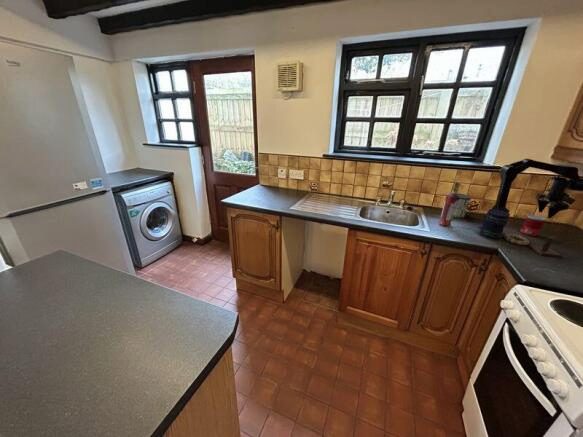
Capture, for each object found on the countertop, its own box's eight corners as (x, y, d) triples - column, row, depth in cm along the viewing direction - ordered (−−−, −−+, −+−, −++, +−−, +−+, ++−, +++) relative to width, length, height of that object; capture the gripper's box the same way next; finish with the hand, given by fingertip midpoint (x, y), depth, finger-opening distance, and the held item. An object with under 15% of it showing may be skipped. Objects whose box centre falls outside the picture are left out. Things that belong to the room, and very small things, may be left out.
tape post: (541, 255, 123) (548, 241, 120) (527, 246, 131) (534, 233, 128) (560, 257, 122) (568, 243, 119) (545, 248, 130) (553, 234, 127)
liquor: (442, 221, 158) (456, 179, 147) (453, 226, 152) (468, 183, 141) (434, 223, 155) (448, 180, 144) (445, 228, 149) (460, 184, 138)
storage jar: (475, 231, 146) (483, 209, 139) (490, 231, 146) (499, 208, 140) (488, 240, 137) (497, 216, 130) (504, 239, 137) (515, 216, 131)
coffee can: (447, 210, 177) (453, 192, 171) (464, 214, 172) (470, 195, 166) (446, 215, 169) (453, 196, 163) (464, 218, 164) (471, 199, 158)
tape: (511, 244, 132) (513, 241, 131) (499, 235, 142) (500, 232, 141) (533, 246, 131) (535, 243, 130) (519, 237, 141) (520, 233, 140)
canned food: (540, 237, 142) (549, 220, 137) (525, 235, 143) (533, 218, 139) (531, 231, 149) (539, 215, 144) (516, 230, 150) (524, 213, 146)
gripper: (589, 196, 120) (573, 224, 127) (566, 186, 136) (552, 212, 143) (561, 192, 124) (546, 220, 130) (541, 183, 140) (529, 208, 146)
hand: (544, 215), depth 137 cm, fingers open, 9 cm apart
